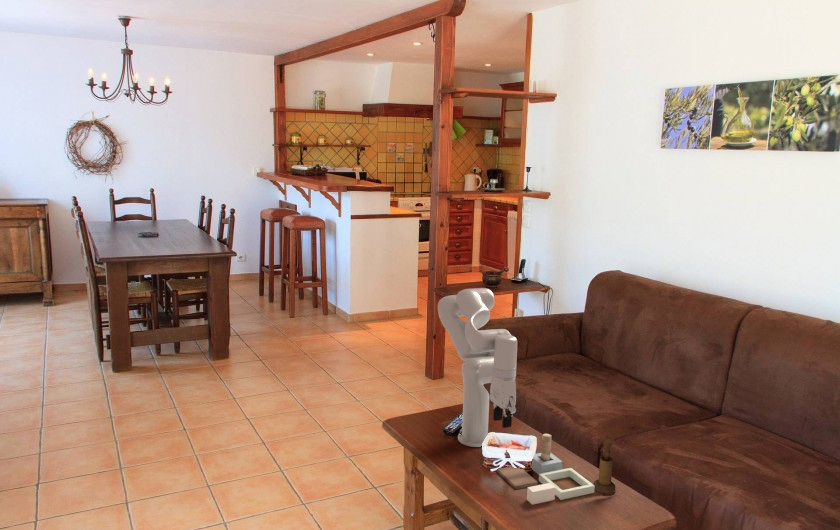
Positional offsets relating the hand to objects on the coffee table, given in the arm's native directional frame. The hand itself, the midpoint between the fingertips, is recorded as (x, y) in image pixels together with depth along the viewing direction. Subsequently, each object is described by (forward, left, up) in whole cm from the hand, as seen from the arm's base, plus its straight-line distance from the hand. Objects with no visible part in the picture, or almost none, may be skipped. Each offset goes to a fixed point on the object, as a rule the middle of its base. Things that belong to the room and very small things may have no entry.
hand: (502, 423), depth 215 cm
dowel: (+9, +12, -14) cm, 21 cm away
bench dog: (+25, 0, -15) cm, 29 cm away
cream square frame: (+21, +12, -15) cm, 29 cm away
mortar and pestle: (+26, +23, -16) cm, 38 cm away
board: (+11, 0, -16) cm, 19 cm away
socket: (+9, +12, -15) cm, 22 cm away
